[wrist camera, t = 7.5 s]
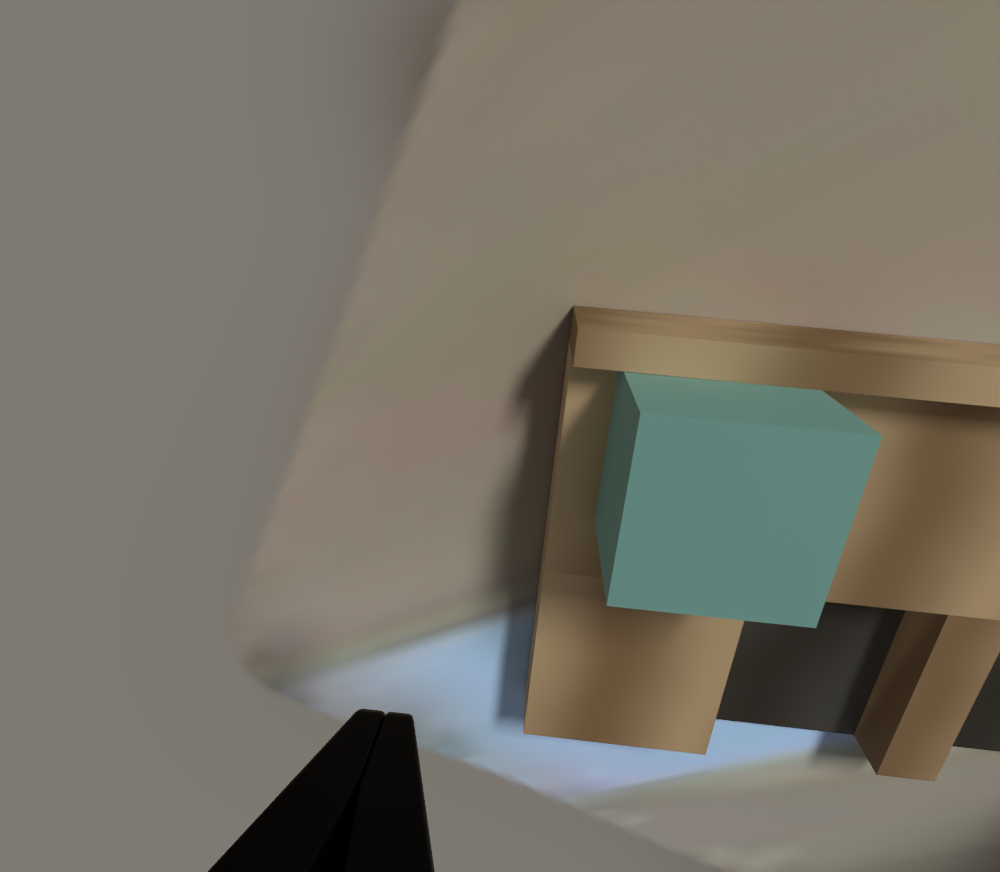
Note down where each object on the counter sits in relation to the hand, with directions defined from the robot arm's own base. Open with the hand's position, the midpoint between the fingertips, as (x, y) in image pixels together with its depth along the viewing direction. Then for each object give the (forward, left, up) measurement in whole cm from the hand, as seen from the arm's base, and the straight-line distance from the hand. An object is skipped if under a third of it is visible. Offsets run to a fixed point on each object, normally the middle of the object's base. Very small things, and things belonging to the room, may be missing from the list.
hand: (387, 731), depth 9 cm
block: (-7, -1, -10) cm, 12 cm away
